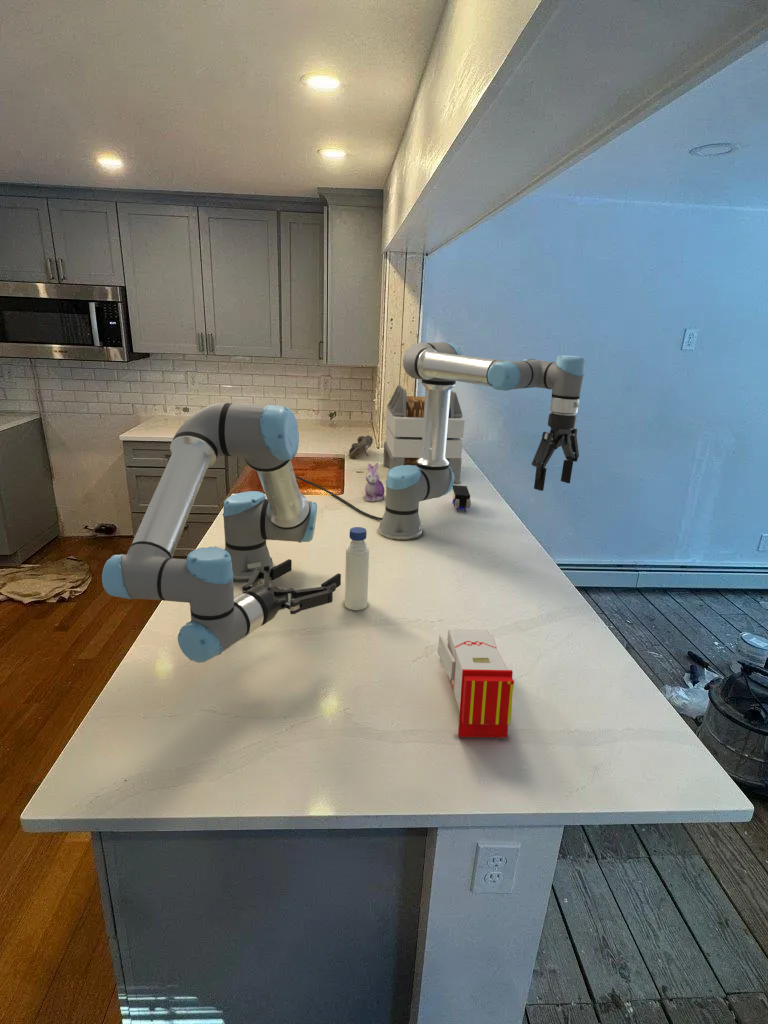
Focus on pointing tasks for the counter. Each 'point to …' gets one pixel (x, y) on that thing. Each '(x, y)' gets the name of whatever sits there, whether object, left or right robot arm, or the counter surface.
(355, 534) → the cap
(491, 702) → the toy
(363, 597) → the bottle
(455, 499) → the figurine character
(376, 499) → the figurine
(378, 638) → the counter surface
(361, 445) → the fossil
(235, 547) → the left robot arm
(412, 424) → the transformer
